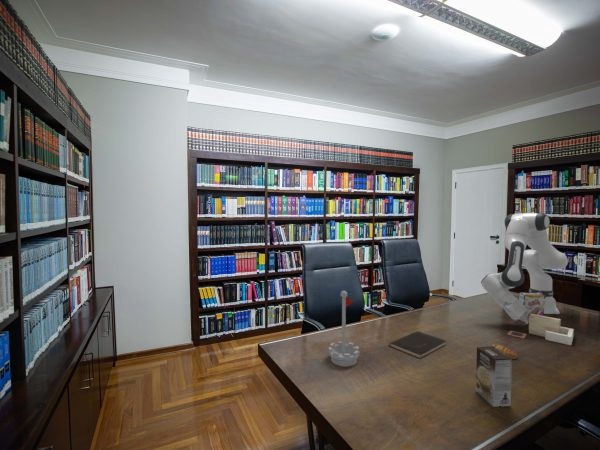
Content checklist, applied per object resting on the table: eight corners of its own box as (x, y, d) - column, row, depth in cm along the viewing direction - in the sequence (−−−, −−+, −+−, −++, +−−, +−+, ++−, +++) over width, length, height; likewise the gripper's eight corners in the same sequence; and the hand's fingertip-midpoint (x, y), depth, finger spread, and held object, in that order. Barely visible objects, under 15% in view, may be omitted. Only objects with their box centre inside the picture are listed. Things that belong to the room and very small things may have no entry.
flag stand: (340, 370, 120) (340, 296, 119) (322, 357, 131) (322, 289, 130) (365, 363, 126) (366, 292, 125) (347, 350, 137) (347, 285, 136)
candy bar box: (523, 322, 172) (524, 294, 171) (518, 319, 177) (518, 292, 176) (544, 323, 171) (545, 295, 170) (538, 320, 176) (539, 292, 175)
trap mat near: (510, 330, 160) (510, 330, 160) (526, 334, 155) (526, 334, 155) (507, 334, 155) (507, 334, 155) (524, 338, 150) (524, 337, 150)
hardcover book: (446, 345, 144) (446, 340, 144) (420, 359, 130) (420, 354, 130) (416, 335, 156) (416, 330, 156) (389, 347, 142) (389, 342, 142)
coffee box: (474, 390, 106) (475, 346, 105) (491, 390, 106) (492, 345, 106) (493, 407, 97) (494, 358, 96) (512, 406, 97) (513, 357, 97)
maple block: (530, 330, 161) (531, 313, 161) (560, 336, 152) (560, 319, 152) (528, 333, 157) (529, 316, 156) (558, 340, 148) (559, 322, 148)
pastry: (519, 357, 131) (519, 348, 131) (513, 362, 127) (514, 353, 127) (495, 349, 138) (495, 341, 138) (489, 354, 134) (489, 345, 134)
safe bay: (548, 331, 159) (549, 324, 159) (573, 336, 152) (573, 329, 152) (545, 339, 149) (545, 331, 149) (571, 345, 142) (571, 337, 142)
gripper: (507, 301, 157) (530, 324, 150) (515, 294, 171) (536, 315, 165) (497, 308, 160) (519, 331, 154) (506, 300, 175) (526, 321, 168)
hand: (528, 322), depth 159 cm, fingers closed, pressing on maple block
